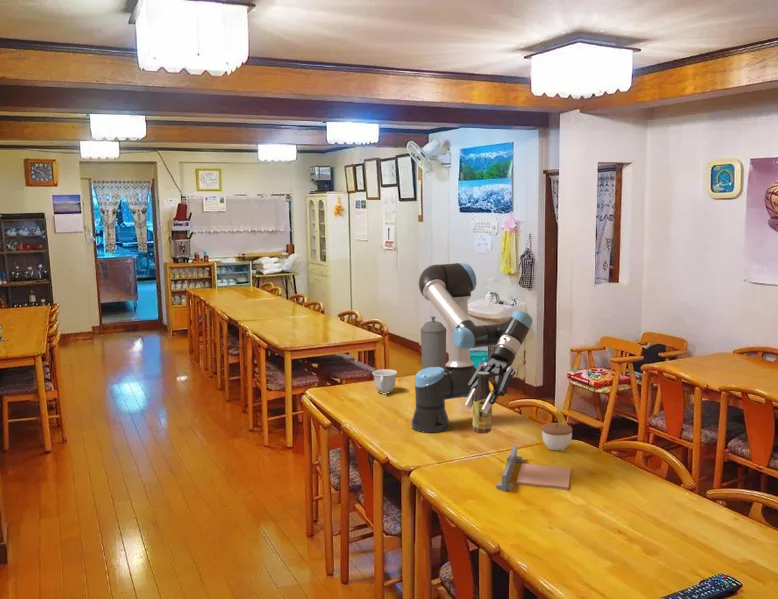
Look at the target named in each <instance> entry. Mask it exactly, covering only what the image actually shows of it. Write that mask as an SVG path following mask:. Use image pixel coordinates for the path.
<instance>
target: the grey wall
mask: <svg viewBox="0 0 778 599" xmlns="http://www.w3.org/2000/svg"><path fill="white" fill-rule="evenodd" d="M521 462H522V463H523V456H519V455H518V444H513V446H512V448H511V451H510V453H509V455H507V457H506V464H505V467H504V469H503V472H502V475H501V482H497V483H496V486H495V488H497V489H496V490H501V489H502V490H501V491H502V492H506V491H510V490H511V491H513V490H514V483H509V482H510V481H511V477H512V474H513V472H514V470H515V469H514V468H515V466H516V464H517V463H521ZM515 463H516V464H515ZM509 480H510V481H509Z"/></svg>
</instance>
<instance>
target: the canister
mask: <svg viewBox="0 0 778 599" xmlns="http://www.w3.org/2000/svg"><path fill="white" fill-rule="evenodd" d="M436 318H437V317H436V316H430V319H431V321H426V322H425V323H424V324H423V325H422V327H421V328H420V343H421V345H420V346H421V348H420V350H421V370H422V369H425V368H429V367H441V368H443V369H444V370H446V367H445V364H446V363H447V332H448V330H447V327H445V325H443V324H444V323H442V322H441V321H437V320H435V319H436Z"/></svg>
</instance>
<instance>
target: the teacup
mask: <svg viewBox="0 0 778 599" xmlns="http://www.w3.org/2000/svg"><path fill="white" fill-rule="evenodd" d="M371 374H372V375H373V380H374V385H375V389H376V390H377V391H380V392H382V393H387V392H391V393H392V390H394V389H395V386H396V377H397V374H398V371H397V370H395V369H391V368H390V369H387V368H386V369H385V368H382V369H376V370H374V371H372V373H371Z"/></svg>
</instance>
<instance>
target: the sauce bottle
mask: <svg viewBox="0 0 778 599" xmlns="http://www.w3.org/2000/svg"><path fill="white" fill-rule="evenodd" d="M477 377H478V384H477V388H476V389H475V391H474V400H473V405H472V431H473V432H474V433H476V434H480V435H482V434H489V433H491V431H492V425H493V424H492V423H493V421H492V420H493V415H492V414H493V405H491V407H490V409H489V411H488V413H487V414H485V413H484V411H483V410H482V407H483V405H484V403H485V401H486V399H487V397H488V395H489V394H490V392H492V390H491V388H490V378H489V377H490V373H489V372H478V373H477Z"/></svg>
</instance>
